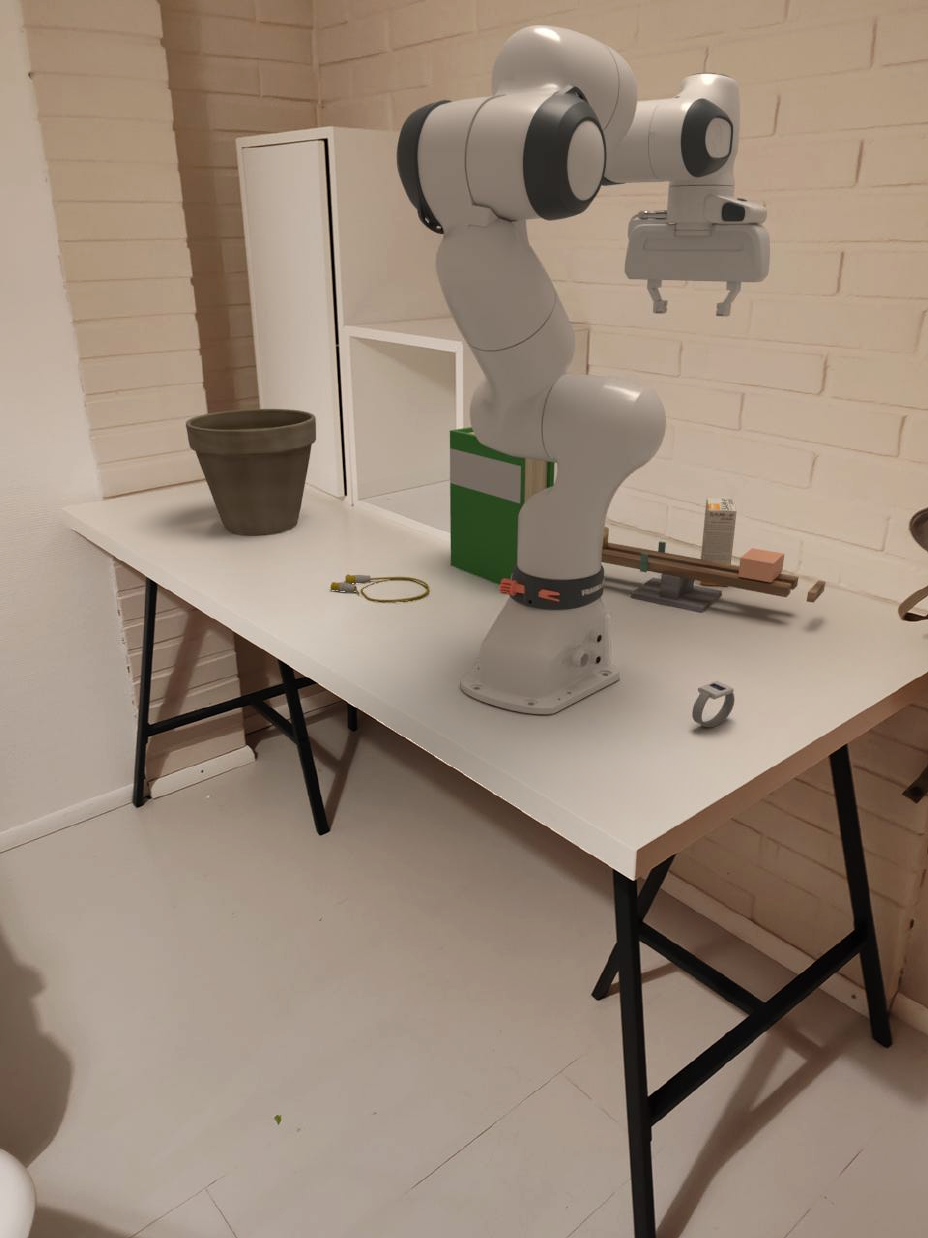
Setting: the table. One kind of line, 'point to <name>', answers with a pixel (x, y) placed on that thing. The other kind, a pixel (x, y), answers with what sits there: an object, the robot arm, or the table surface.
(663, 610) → the table surface
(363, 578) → the extension cord
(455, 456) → the hardback book
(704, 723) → the wristwatch
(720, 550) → the supplement box
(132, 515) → the table surface
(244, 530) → the plant pot
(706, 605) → the balance scale
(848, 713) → the table surface
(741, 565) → the block
